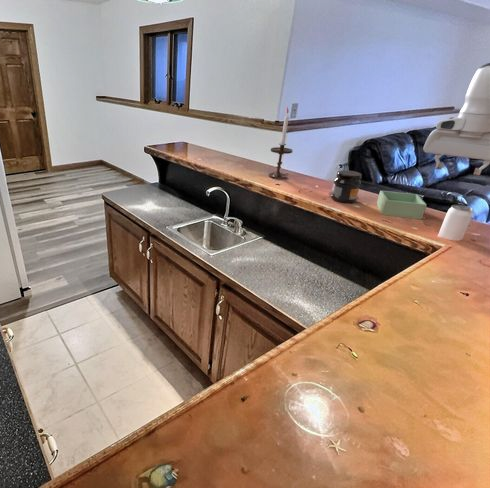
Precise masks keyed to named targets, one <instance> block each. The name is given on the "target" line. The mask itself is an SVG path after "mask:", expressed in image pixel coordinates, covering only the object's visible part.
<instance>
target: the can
mask: <svg viewBox="0 0 490 488" xmlns="http://www.w3.org/2000/svg"><path fill="white" fill-rule="evenodd" d="M473 211H474V209H473V208H471V207H470V206H467V205H463V204H452V205H451V207H450V208H448V210H447V212H446V214H445V216H444V219H443V221H442V224H441V227H440V229H439V231H438V234H437V237H438V238H443V239H446V240H449V241H457V242H461V241H463V239H464V236H465V234H466V232H467V229H468V228H469V225H470V222H471V220H472V219H473V215H474V212H473Z"/></svg>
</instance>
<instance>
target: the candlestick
mask: <svg viewBox="0 0 490 488" xmlns="http://www.w3.org/2000/svg"><path fill="white" fill-rule="evenodd" d="M289 119H290V117H289V108H288V106H287V107H286V114H285V116H284V119H283V120H284V121H283V127H282V132H281V139H280V143H278V145H279V146H278V147H271V148H270V152H271V153H274V154H278V155H279V156H278V161H276V164H277V166H276V167H275V168H276V171H275V172H270V173H268V177H269V176H270V177H269V178H271V177H274V178H285V177H286V178H287V174H284V173H282V172H281V171H280V170H281V168H282V165H283V161H282V158H283V155H288V154H293V149H292V148H288V147H285V146H287V144H286V138H287V137H286V136H287V131H288V124H289ZM274 178H273V179H274ZM286 178H285V179H286Z"/></svg>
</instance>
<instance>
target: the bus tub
mask: <svg viewBox="0 0 490 488" xmlns="http://www.w3.org/2000/svg"><path fill="white" fill-rule="evenodd" d="M375 204H376V206H377V208H378V210H379V211H380V214H381V215H382V216H389V217H398V218H407V219H414V220H422V219H423V216H424V214H425V211H426V208H427V207H428V206H427V203H426V202H425V201H424V200H423V199H422V198H421V196H420V195H418V194H417V193H409V192H398V191H390V190H380V191H379V194H378V197H377V201H376V203H375Z"/></svg>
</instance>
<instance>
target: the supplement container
mask: <svg viewBox="0 0 490 488" xmlns="http://www.w3.org/2000/svg"><path fill="white" fill-rule="evenodd" d="M361 179H362V173H361V172H358V171H354V170H345V169H343V170H338V171H337V172H336V177H335V178H333V185H332V190H331V193H330V199H331V200H333V201H335V202H337V201H338V203H342V202H343V204H352V203H355V202H356V201H357V199H358V195H359V191H360V187H361V185H362V182H361Z"/></svg>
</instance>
